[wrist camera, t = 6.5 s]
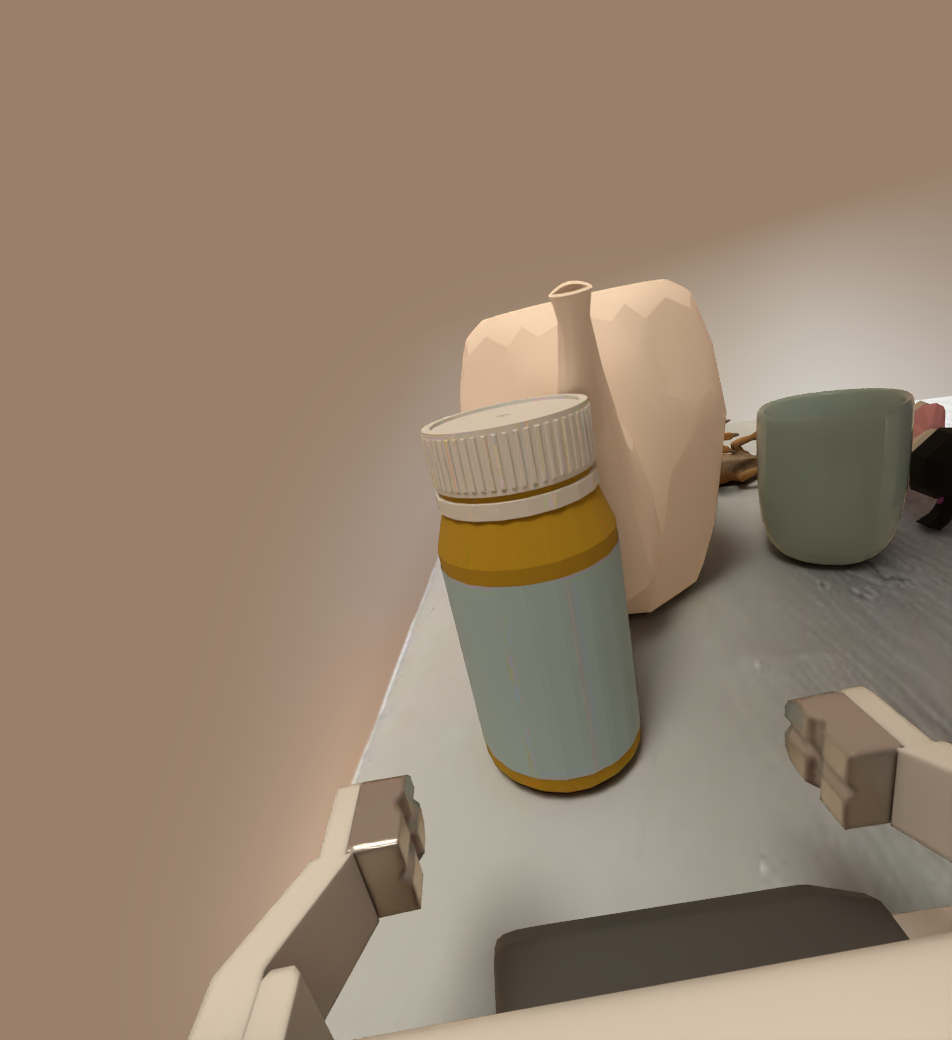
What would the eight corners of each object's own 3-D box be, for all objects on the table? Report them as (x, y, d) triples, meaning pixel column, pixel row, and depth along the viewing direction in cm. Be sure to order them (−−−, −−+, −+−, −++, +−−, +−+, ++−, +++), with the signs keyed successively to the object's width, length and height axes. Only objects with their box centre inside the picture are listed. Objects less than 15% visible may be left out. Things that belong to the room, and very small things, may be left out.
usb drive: (501, 978, 15) (482, 916, 14) (916, 914, 14) (925, 845, 13) (518, 1298, 10) (491, 1233, 9) (1160, 1221, 9) (1201, 1143, 8)
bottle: (585, 669, 27) (541, 390, 22) (678, 754, 21) (645, 391, 16) (467, 721, 25) (390, 429, 20) (530, 834, 19) (441, 447, 14)
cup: (897, 589, 28) (913, 412, 25) (745, 569, 33) (741, 421, 30) (905, 534, 33) (919, 382, 30) (772, 525, 38) (772, 394, 35)
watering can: (460, 739, 24) (350, 329, 18) (516, 530, 48) (477, 326, 42) (823, 730, 20) (843, 211, 14) (685, 509, 45) (670, 283, 39)
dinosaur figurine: (840, 409, 39) (802, 439, 50) (562, 432, 47) (582, 453, 58) (843, 494, 39) (804, 505, 50) (562, 501, 47) (582, 509, 58)
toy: (846, 368, 43) (946, 379, 29) (934, 397, 42) (1080, 421, 28) (793, 458, 46) (860, 504, 33) (872, 487, 45) (976, 547, 31)
